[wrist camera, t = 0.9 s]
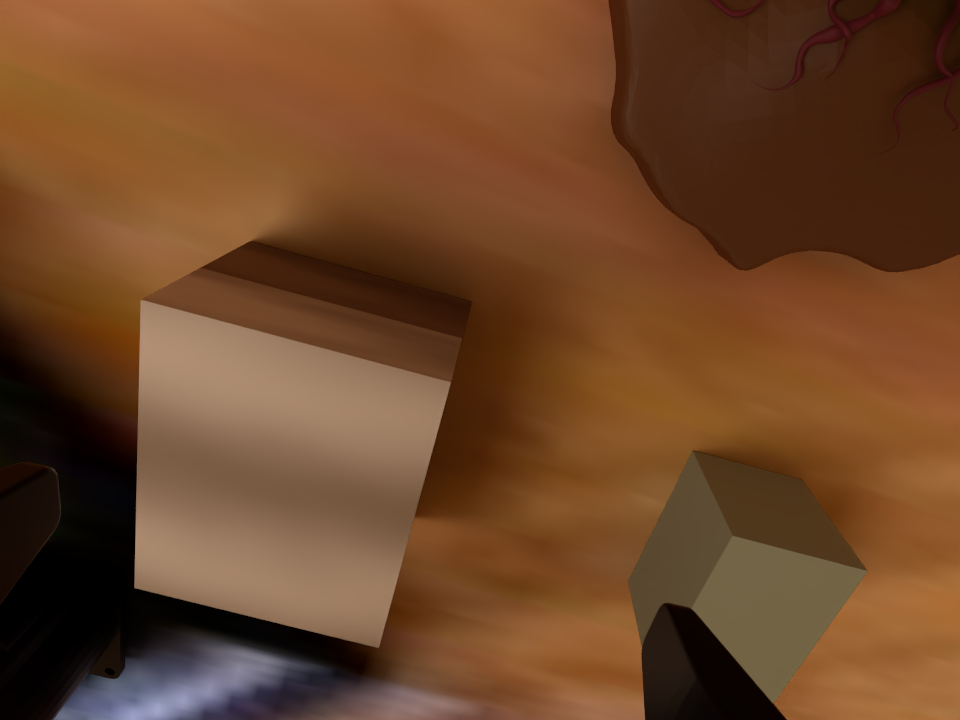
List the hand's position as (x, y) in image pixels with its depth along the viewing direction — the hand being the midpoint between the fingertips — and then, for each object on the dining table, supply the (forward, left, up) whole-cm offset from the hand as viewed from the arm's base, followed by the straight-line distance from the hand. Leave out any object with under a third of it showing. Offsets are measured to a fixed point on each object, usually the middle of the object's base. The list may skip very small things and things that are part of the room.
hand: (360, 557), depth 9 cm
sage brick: (-7, -13, -14) cm, 20 cm away
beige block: (-5, +3, -13) cm, 15 cm away
